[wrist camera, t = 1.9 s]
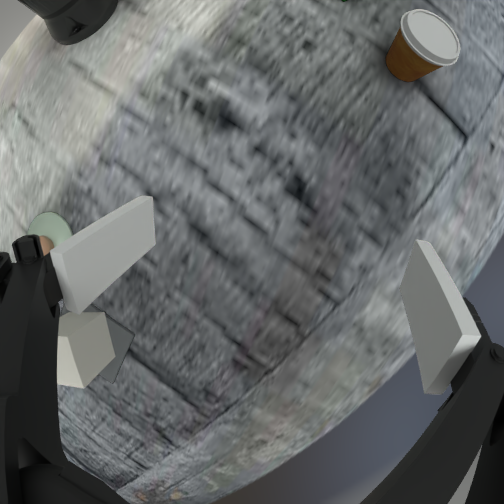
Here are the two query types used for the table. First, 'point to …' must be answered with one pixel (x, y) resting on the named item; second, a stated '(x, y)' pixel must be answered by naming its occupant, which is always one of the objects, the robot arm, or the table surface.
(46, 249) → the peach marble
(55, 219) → the plate
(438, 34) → the disposable coffee cup
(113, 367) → the mat
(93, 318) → the white upright block
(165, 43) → the table surface
